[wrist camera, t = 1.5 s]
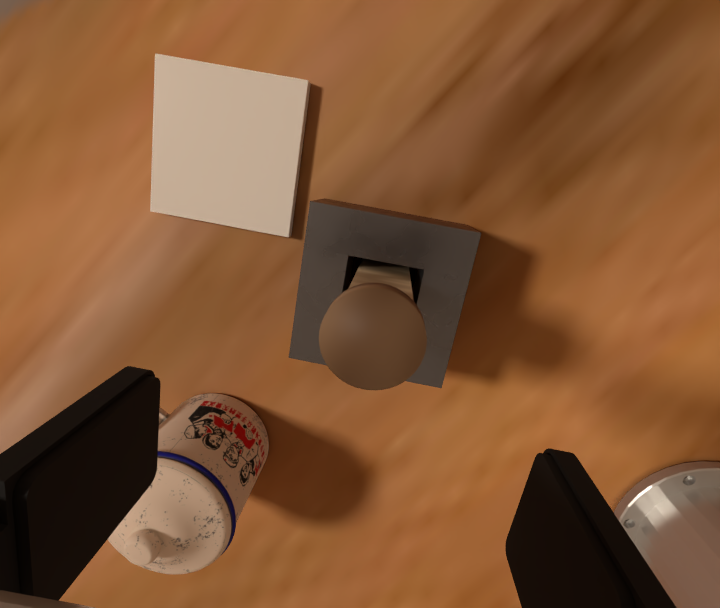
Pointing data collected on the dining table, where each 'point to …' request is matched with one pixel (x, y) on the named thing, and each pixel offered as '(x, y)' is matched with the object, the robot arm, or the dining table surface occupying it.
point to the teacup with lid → (195, 485)
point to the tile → (227, 144)
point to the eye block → (391, 245)
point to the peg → (374, 329)
